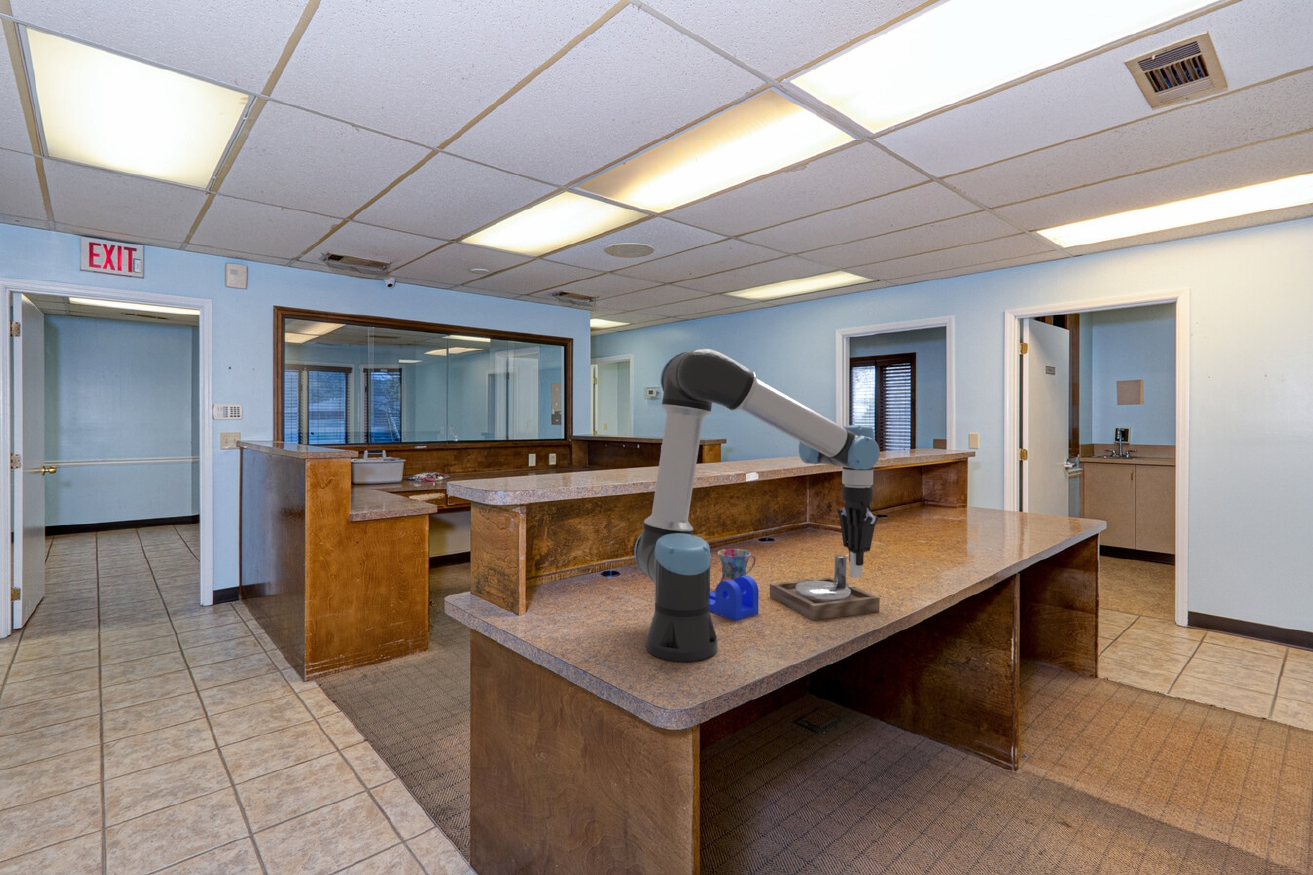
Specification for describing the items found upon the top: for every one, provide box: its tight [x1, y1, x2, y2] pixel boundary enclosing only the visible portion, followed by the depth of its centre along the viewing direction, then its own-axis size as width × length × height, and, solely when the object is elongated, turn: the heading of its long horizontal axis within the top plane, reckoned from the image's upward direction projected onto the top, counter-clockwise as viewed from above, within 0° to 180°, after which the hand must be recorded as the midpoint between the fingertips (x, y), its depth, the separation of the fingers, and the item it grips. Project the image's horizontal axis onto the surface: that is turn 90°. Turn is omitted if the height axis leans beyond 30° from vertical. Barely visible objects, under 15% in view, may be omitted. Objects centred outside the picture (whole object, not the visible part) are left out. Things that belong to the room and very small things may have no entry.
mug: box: [717, 548, 757, 591], centre depth 173 cm, size 12×9×11 cm
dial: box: [796, 554, 851, 603], centre depth 160 cm, size 14×14×10 cm
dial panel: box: [769, 576, 881, 621], centre depth 160 cm, size 20×20×4 cm
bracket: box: [709, 574, 760, 621], centre depth 156 cm, size 18×8×9 cm, turn 41°
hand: (855, 576), depth 157 cm, fingers closed
